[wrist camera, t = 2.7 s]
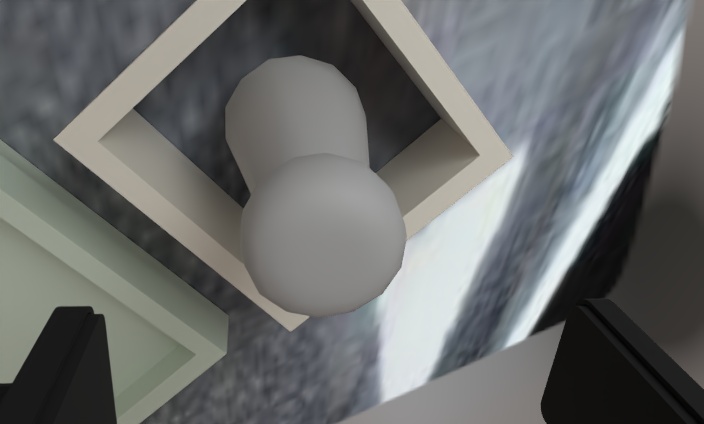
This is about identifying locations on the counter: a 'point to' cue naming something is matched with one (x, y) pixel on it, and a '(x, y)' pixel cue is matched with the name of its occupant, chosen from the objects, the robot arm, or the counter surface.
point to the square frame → (214, 203)
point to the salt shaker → (311, 190)
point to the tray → (97, 292)
